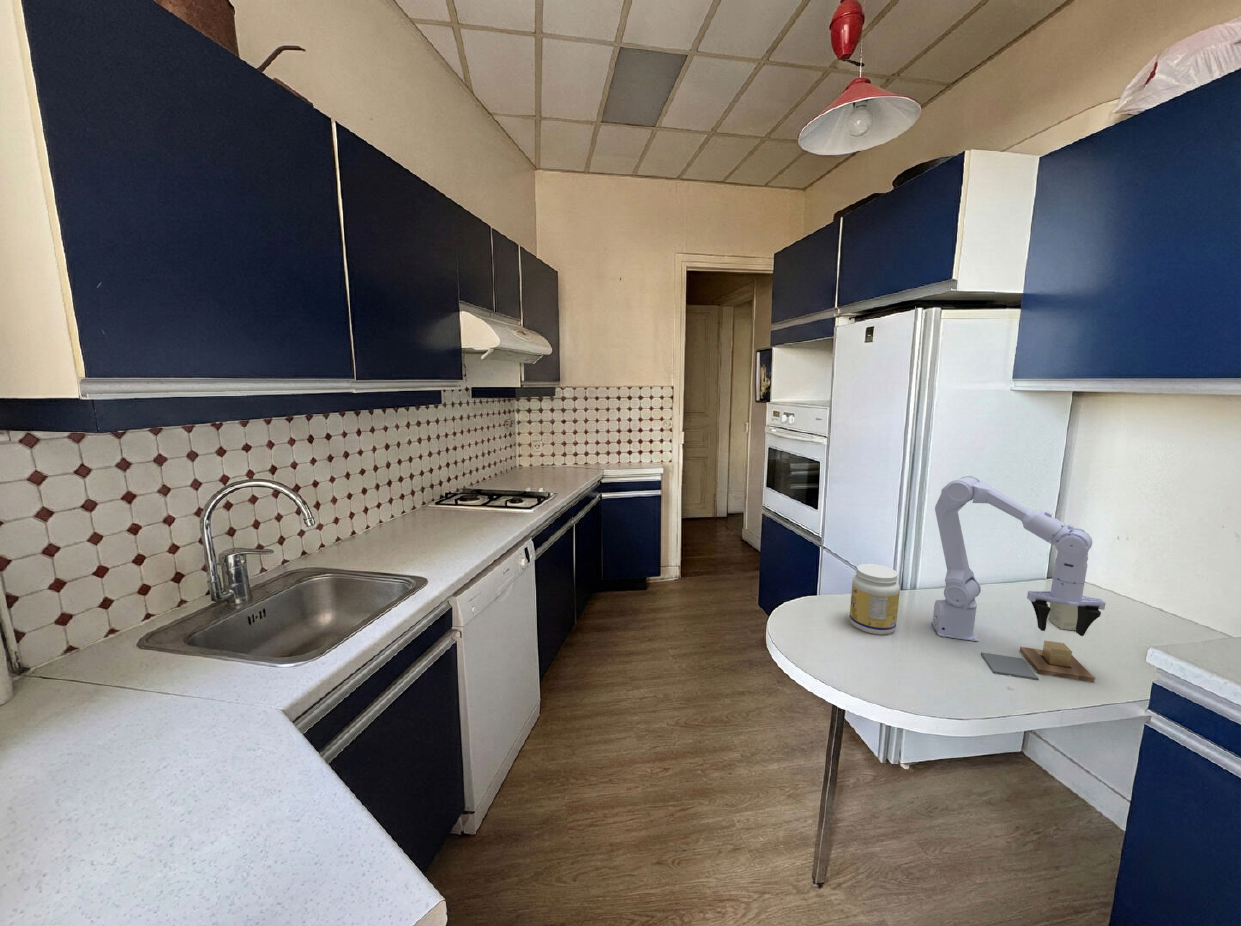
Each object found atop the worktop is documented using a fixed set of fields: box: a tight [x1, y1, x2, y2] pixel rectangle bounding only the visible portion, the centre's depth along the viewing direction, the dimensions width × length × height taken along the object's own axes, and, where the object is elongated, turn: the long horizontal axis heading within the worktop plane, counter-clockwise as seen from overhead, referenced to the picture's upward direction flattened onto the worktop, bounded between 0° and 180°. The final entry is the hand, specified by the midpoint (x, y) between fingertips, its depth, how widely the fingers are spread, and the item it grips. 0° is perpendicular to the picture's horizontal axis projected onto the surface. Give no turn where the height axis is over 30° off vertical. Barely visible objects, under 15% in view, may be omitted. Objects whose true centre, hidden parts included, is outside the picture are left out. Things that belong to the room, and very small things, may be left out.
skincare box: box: [1047, 602, 1078, 631], centre depth 143 cm, size 6×4×12 cm
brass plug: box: [1042, 640, 1073, 668], centre depth 123 cm, size 4×4×6 cm
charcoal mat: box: [980, 651, 1039, 681], centre depth 123 cm, size 9×9×1 cm
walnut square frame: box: [1019, 646, 1096, 683], centre depth 124 cm, size 11×11×1 cm
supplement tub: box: [849, 563, 901, 635], centre depth 143 cm, size 12×12×17 cm
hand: (1060, 631), depth 122 cm, fingers open, 7 cm apart
